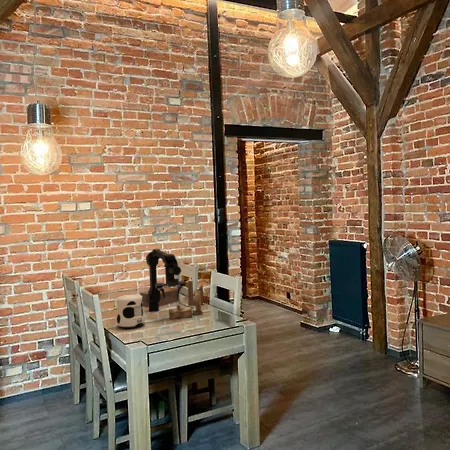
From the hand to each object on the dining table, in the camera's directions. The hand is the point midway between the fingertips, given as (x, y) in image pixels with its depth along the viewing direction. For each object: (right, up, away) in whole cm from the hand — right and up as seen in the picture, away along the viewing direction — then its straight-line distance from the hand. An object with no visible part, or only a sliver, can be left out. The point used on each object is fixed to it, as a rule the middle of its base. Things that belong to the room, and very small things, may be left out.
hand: (171, 297), depth 288 cm
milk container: (-23, -15, -14) cm, 31 cm away
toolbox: (+9, -13, +4) cm, 16 cm away
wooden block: (+14, -11, +35) cm, 40 cm away
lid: (+7, -8, +2) cm, 11 cm away
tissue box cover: (-14, -12, +46) cm, 49 cm away
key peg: (+17, -12, +16) cm, 26 cm away
